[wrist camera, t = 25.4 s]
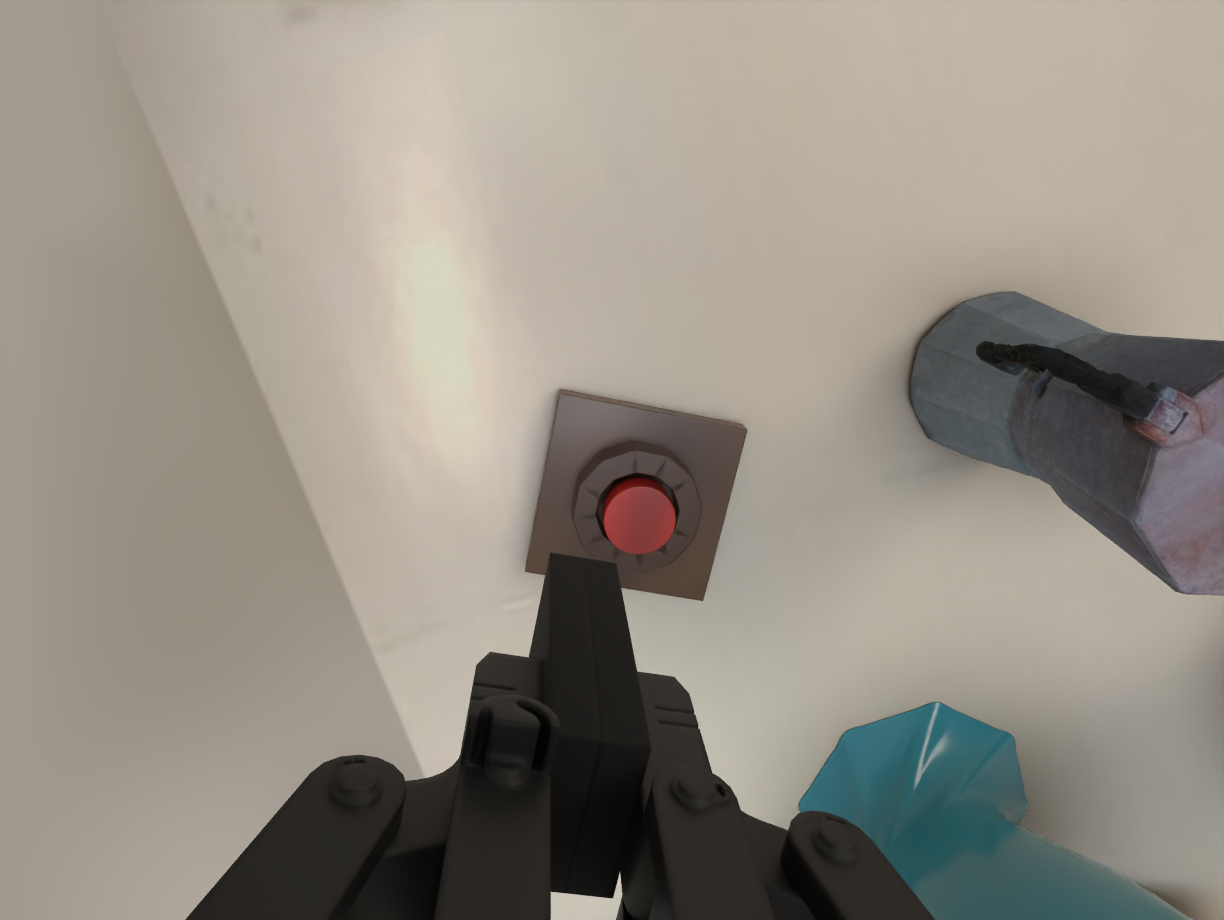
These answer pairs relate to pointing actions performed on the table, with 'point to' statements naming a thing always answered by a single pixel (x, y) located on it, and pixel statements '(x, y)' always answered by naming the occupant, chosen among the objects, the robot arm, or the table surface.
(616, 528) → the button
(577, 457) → the control block
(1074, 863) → the vase
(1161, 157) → the table surface
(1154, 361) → the moka pot
